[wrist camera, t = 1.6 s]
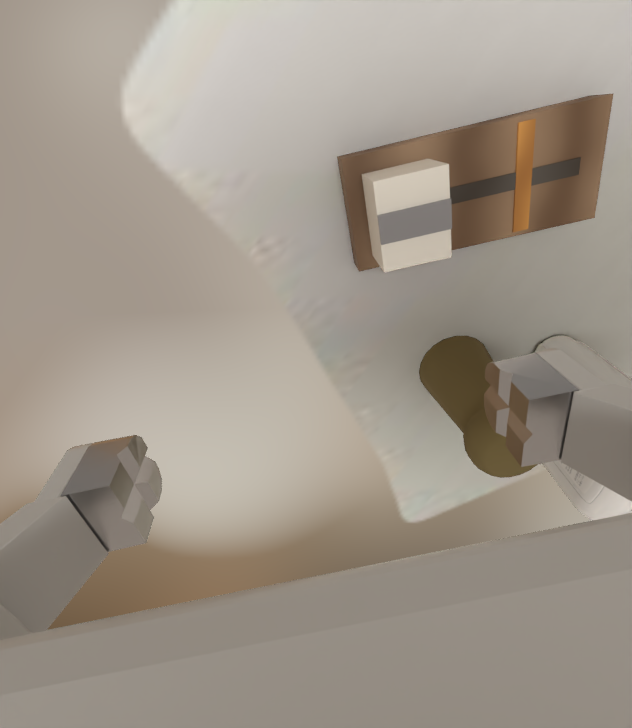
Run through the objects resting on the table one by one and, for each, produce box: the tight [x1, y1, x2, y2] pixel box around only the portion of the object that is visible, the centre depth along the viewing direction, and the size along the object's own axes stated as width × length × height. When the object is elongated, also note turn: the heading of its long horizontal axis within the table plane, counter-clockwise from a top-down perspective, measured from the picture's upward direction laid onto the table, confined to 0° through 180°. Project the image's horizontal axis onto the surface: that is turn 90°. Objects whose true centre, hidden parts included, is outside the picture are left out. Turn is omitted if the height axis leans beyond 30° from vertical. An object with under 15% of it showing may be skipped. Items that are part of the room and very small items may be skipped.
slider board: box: [337, 94, 613, 271], centre depth 26 cm, size 16×7×2 cm, turn 101°
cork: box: [419, 336, 537, 477], centre depth 30 cm, size 6×6×11 cm
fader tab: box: [362, 159, 452, 273], centre depth 24 cm, size 4×5×4 cm
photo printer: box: [535, 335, 632, 521], centre depth 31 cm, size 10×4×12 cm, turn 2°
